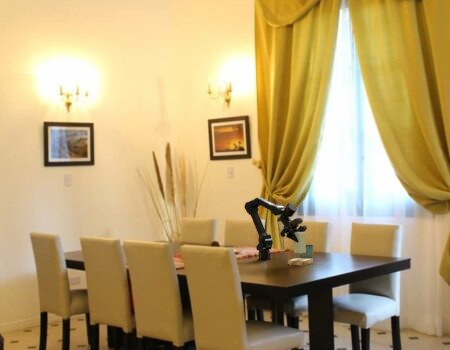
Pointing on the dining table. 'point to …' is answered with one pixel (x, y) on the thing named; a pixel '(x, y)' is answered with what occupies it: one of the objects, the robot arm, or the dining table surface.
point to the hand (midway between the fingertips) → (301, 241)
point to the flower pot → (308, 252)
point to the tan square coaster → (300, 261)
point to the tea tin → (300, 242)
